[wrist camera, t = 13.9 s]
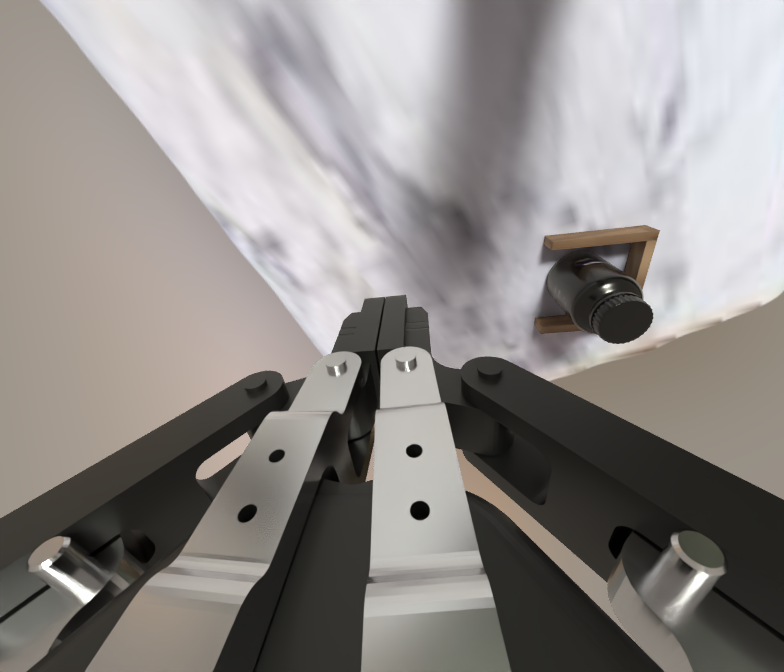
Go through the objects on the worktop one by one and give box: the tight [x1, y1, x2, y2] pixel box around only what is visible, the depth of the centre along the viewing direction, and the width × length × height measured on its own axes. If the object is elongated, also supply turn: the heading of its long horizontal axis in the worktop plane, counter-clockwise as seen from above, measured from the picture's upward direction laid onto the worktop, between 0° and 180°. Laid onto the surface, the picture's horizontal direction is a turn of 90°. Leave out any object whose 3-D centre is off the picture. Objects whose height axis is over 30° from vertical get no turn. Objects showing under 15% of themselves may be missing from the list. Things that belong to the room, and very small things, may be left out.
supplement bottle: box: [547, 251, 653, 344], centre depth 35 cm, size 7×7×12 cm
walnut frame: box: [535, 225, 660, 334], centre depth 39 cm, size 12×11×2 cm
